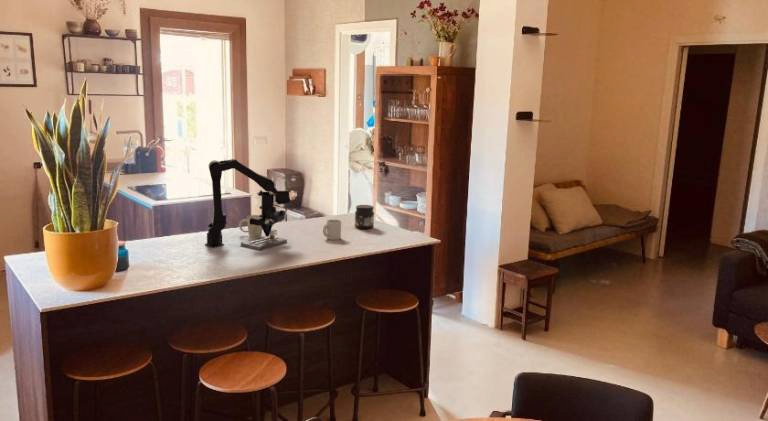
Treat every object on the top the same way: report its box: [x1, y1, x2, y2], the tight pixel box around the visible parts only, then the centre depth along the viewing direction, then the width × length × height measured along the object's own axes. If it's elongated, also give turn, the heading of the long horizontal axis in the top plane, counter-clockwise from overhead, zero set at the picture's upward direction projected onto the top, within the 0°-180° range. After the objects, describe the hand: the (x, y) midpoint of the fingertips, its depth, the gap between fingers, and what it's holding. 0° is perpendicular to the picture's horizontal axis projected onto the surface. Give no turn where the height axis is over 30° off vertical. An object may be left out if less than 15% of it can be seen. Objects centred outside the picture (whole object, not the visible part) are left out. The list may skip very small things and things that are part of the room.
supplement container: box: [354, 204, 375, 231], centre depth 332 cm, size 10×10×12 cm
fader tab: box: [269, 228, 278, 239], centre depth 295 cm, size 2×4×4 cm, turn 58°
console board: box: [240, 235, 288, 251], centre depth 291 cm, size 19×12×2 cm, turn 148°
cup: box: [322, 219, 342, 241], centre depth 306 cm, size 7×10×9 cm
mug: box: [238, 214, 263, 239], centre depth 304 cm, size 8×13×10 cm, turn 89°
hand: (267, 236), depth 292 cm, fingers closed
